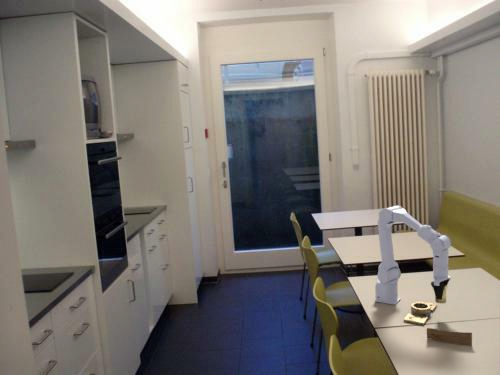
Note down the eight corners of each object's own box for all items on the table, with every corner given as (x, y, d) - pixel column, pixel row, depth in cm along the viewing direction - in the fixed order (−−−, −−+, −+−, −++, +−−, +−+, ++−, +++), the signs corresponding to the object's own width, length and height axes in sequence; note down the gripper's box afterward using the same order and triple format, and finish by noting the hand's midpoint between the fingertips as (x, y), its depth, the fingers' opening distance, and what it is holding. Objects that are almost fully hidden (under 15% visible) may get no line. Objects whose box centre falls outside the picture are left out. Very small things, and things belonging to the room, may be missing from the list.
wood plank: (471, 344, 172) (472, 331, 171) (471, 347, 170) (472, 334, 169) (427, 338, 178) (427, 326, 178) (426, 340, 176) (426, 328, 176)
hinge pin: (432, 302, 194) (432, 286, 193) (435, 298, 198) (435, 282, 197) (445, 304, 191) (445, 288, 190) (448, 300, 195) (448, 284, 194)
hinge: (403, 321, 193) (403, 313, 193) (418, 303, 211) (418, 295, 211) (423, 325, 189) (423, 317, 188) (436, 306, 207) (436, 298, 206)
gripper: (447, 271, 184) (446, 304, 186) (454, 261, 196) (454, 292, 198) (428, 269, 188) (428, 301, 190) (437, 259, 200) (436, 290, 202)
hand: (440, 296), depth 194 cm, fingers closed on hinge pin, 5 cm apart
